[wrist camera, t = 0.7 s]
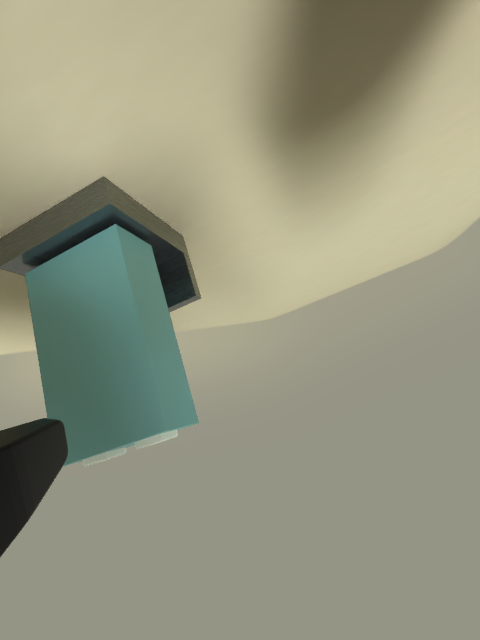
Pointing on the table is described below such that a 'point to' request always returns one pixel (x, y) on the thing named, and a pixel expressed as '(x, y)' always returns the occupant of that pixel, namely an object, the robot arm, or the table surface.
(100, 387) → the key two
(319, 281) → the table surface
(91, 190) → the key two base
